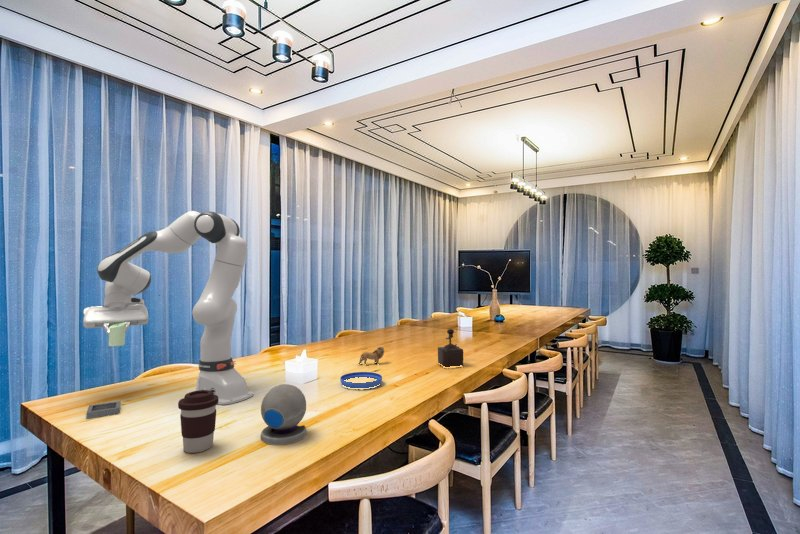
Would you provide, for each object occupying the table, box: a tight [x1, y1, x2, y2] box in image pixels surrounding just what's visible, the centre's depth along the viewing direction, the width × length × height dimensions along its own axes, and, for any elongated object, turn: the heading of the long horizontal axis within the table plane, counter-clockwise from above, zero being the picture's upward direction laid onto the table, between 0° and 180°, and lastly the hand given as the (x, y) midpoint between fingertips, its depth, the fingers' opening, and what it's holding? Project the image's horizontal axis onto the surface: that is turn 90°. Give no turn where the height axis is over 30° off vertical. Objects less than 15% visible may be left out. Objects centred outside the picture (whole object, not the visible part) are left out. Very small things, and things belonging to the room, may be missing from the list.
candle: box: [107, 323, 126, 347], centre depth 148 cm, size 5×5×8 cm
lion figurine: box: [358, 346, 385, 365], centre depth 208 cm, size 15×5×9 cm, turn 114°
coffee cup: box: [177, 390, 219, 454], centre depth 110 cm, size 10×10×15 cm
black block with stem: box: [437, 328, 464, 367], centre depth 208 cm, size 16×11×18 cm
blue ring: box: [339, 371, 383, 388], centre depth 172 cm, size 18×18×4 cm
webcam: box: [260, 383, 307, 446], centre depth 118 cm, size 13×13×15 cm
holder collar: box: [85, 400, 122, 420], centre depth 137 cm, size 9×9×2 cm
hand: (116, 333), depth 147 cm, fingers closed on candle, 3 cm apart
